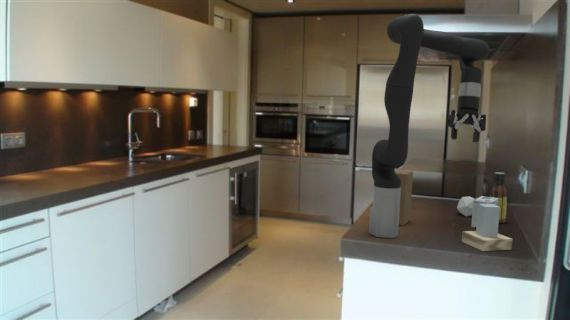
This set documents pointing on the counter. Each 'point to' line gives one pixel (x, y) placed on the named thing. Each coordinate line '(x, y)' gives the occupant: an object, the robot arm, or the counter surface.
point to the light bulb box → (481, 201)
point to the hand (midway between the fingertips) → (464, 140)
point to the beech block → (487, 241)
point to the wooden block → (405, 195)
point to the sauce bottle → (500, 194)
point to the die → (466, 206)
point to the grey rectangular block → (487, 220)
